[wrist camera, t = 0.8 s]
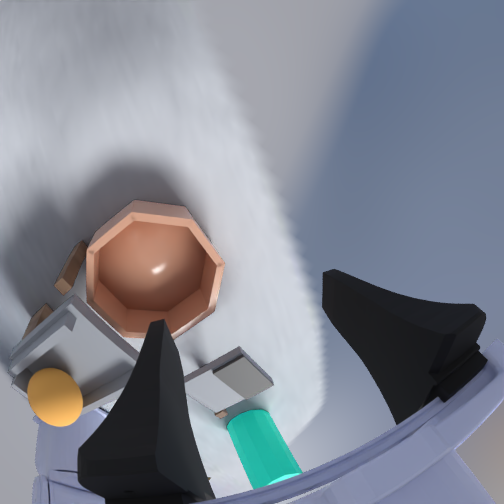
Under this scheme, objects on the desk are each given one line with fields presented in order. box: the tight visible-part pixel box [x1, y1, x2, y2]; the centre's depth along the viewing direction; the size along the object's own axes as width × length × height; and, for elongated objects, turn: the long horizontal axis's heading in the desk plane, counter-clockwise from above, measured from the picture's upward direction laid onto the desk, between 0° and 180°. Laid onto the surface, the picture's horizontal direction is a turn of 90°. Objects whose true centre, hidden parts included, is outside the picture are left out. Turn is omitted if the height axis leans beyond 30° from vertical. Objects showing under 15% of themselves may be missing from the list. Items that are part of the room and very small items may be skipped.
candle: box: [227, 409, 303, 489], centre depth 28 cm, size 6×6×12 cm
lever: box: [7, 294, 274, 416], centre depth 16 cm, size 14×15×3 cm
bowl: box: [86, 200, 225, 340], centre depth 19 cm, size 9×9×4 cm
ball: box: [27, 368, 83, 427], centre depth 13 cm, size 4×4×4 cm
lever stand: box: [22, 241, 228, 419], centre depth 19 cm, size 9×17×6 cm, turn 31°
